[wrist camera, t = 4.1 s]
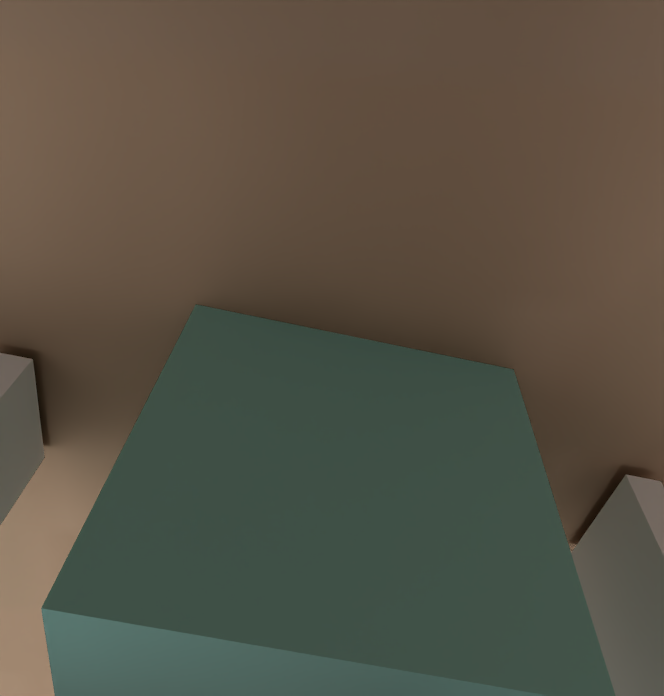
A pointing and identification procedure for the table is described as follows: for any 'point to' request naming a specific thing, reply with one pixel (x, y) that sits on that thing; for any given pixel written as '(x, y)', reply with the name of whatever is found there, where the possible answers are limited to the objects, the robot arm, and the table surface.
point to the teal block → (323, 532)
